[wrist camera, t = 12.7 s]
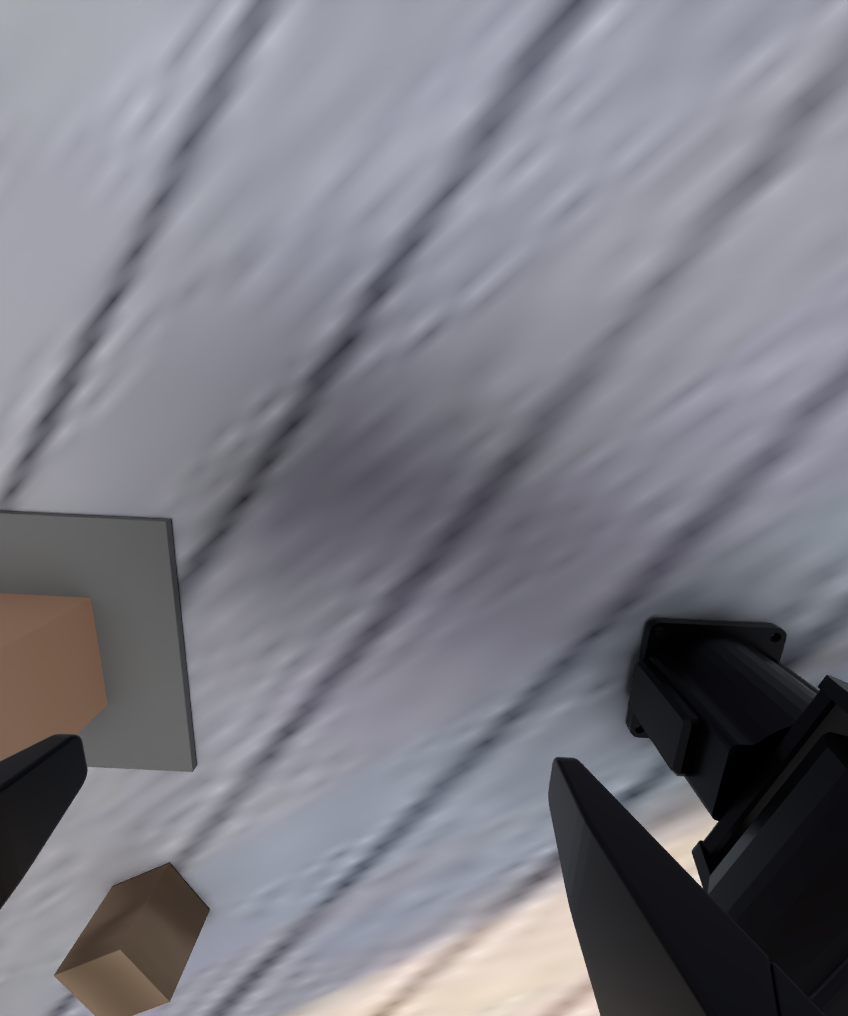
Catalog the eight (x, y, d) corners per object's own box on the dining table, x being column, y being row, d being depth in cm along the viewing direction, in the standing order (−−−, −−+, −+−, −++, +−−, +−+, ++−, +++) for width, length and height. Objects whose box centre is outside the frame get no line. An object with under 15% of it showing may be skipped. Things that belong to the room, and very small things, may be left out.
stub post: (169, 862, 24) (119, 949, 20) (209, 910, 25) (169, 1001, 21) (112, 886, 25) (53, 975, 21) (153, 932, 26) (105, 1025, 22)
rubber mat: (170, 518, 19) (165, 521, 19) (196, 765, 23) (192, 771, 22) (-130, 504, 19) (-141, 506, 19) (-59, 752, 23) (-68, 759, 22)
